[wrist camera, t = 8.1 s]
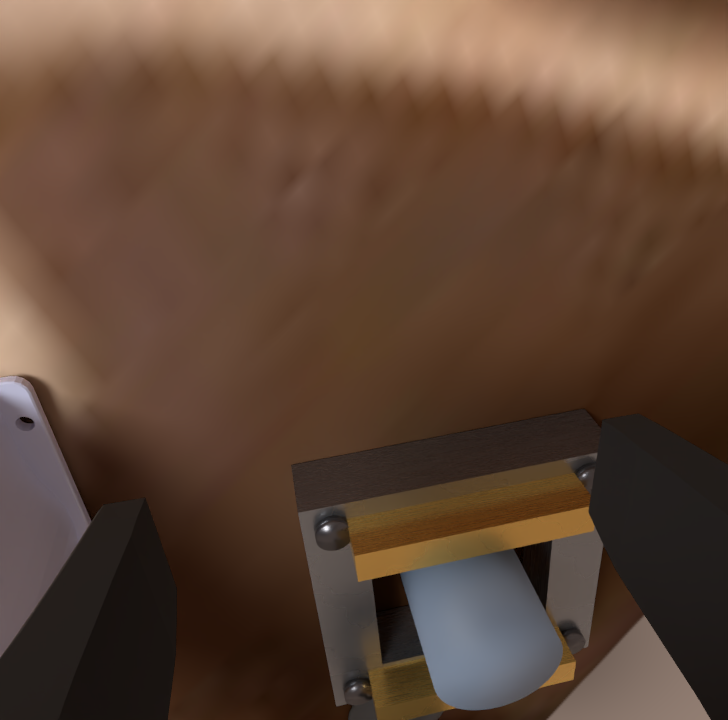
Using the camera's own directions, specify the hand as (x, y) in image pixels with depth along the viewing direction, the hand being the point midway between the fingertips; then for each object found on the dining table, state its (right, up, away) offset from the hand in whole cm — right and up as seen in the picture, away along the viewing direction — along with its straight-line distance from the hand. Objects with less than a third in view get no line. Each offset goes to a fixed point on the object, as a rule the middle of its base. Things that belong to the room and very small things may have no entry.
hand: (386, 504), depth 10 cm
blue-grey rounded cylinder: (+3, -5, +16) cm, 17 cm away
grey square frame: (+3, -5, +16) cm, 17 cm away
